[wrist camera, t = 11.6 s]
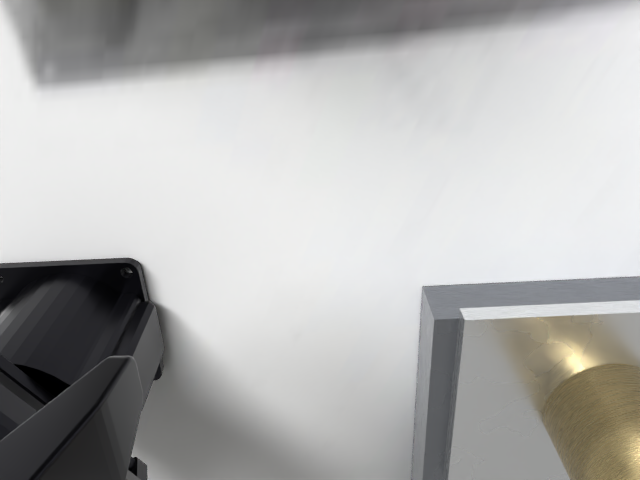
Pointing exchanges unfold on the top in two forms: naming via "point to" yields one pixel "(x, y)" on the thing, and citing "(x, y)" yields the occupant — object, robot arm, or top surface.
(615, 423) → the weight
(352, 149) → the top surface
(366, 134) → the top surface
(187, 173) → the top surface
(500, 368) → the scale
